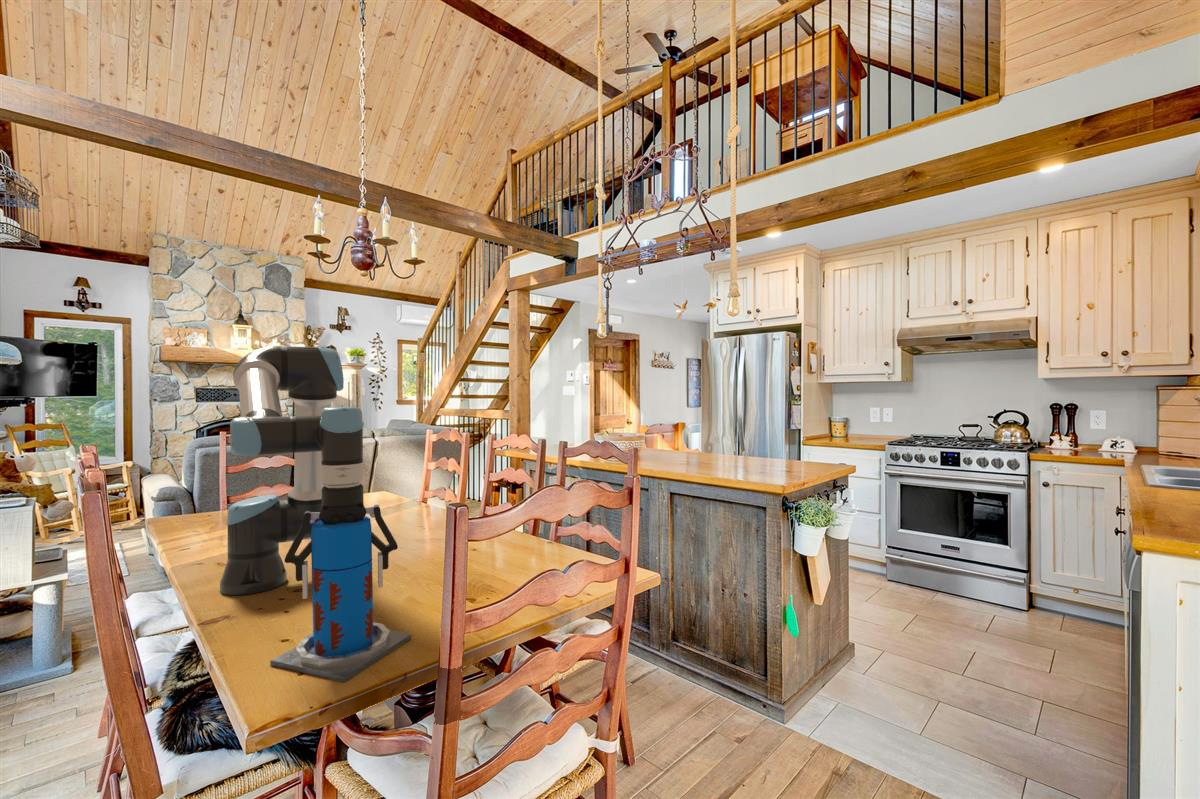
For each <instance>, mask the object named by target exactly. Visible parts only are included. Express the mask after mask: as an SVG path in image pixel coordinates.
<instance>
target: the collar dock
mask: <svg viewBox="0 0 1200 799" xmlns="http://www.w3.org/2000/svg"><path fill="white" fill-rule="evenodd" d="M412 637H413V636H412V633H408V632H403V631H398V630H391V629H389V628H388V627H386V625H385V624H383V623H380V622H379V623H378V622H374V621H373V639H372V644H371V645H370V646H369V647H367V648H366V649H363V650H359V651H356V652H353V653H349V654H346V655H338V656H327V657H322V656H317V655H316V654H315V648H314V636H313V632H312V633H311V634H308V635H306V636H304V637H303V638H302V639H301V641H300V642H299V643H298V644H297V646H295V647H293V648H291V649H289V650H287V651H286V652H283V653H282V654H280V655H277V656H276V657H273V658H272V659H270V661H269V662H270V664H269V665H270V666H271V667H275V668H279V669H285V670H289V671H293V672H298V673H302V674H306V675H311V676H315V677H318V678H319V677H320V678H323V679H328V680H333V681H337V682H342V683H346V682H347V681H349V680H351V679H352V678H353V677H355V676H357V675H358V674H360V673H361V672H363V671H364V670H366V669H367V668H369V667H371V666H372V665H373V664H375V663H377V662H379V661H380V660H381V659H383V658H384V657H386V656H387V655H389V654H390V653H392V652H393V651H395V650H397V649H398V648H399V646H400V645H401V646H403V645H404V644H406V643H407V642H409V641H410V640H412V639H411V638H412ZM409 639H410V640H409ZM408 640H409V641H408ZM406 641H407V642H406ZM405 642H406V643H405ZM403 643H404V644H403ZM402 644H403V645H402ZM401 646H400V647H401ZM397 647H398V648H397ZM396 648H397V649H396ZM388 653H389V654H388Z"/></svg>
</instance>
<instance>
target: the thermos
mask: <svg viewBox="0 0 1200 799" xmlns="http://www.w3.org/2000/svg"><path fill="white" fill-rule="evenodd" d="M371 532H373V531H372V520H371V517H369V516H367V515H365V516H364V518H363V519H362V520H361V521H359V522H353V523H350V522H345V523H337V524H336V525H327V524H324V523H323V522H322V521H321V520H320V521H317V522H315V523H313V525H312V530H311V539H310V541H311V542H312V552H311V553H310V554H311V589H312V592H311V593H312V594H311V596H312V633H313V636H314V648H315V654H316V655H317V656H322V657H327V656H338V655H346V654H349V653H353V652H356V651H359V650H363V649H366V648H367V647H369V646H370V645H371V644H372V639H373V622H374V594H373V593H374V592H373V591H374V589H373V582H374V581H373V548H372V547H373V544H372V543H371Z"/></svg>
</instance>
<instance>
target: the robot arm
mask: <svg viewBox="0 0 1200 799" xmlns="http://www.w3.org/2000/svg"><path fill="white" fill-rule="evenodd" d="M343 373H344V372H343V366H342V361H341V358H340V355H339V353H338V351H336V350H335V349H333V348H328V347H327V348H326V347H322V346H321V347H320V346H289V345H288V346H283V345H270V346H265V347H260V348H257V349H255V350H253V351H251V352H249V353H248V354H246V355H244V356H243V357H242V358H241V359H240V360H239V361H238V362H237V363H236V366H235V367H234V369H233V375H232V376H233V378H232V379H233V384H234V386H235V388H236V389H237V390H238V392H239V395H238V396H239V408H240V409H239V410H240V412H239V413H240V417H236V418H233V419H232V420H230V429H229V430H230V452H231V453H232V455H234V456H252V457H256V456H265V455H266V456H267V455H277V454H278V455H280V454H281V455H282V454H294V458H293V459H294V461H293V462H294V465H293V466H294V468H293V469H294V470H293V474H294V475H293V476H294V477H293V478H294V479H293V482H294V484H293V487H292V488H291V489H290V490H288V492H287V498H285V499H284V498H283V499H280V497H279V495H277V494H266V495H265V494H264V495H259V496H255V497H253V496H252V497H249V498H246V499H242V500H239V501H236V502H234V503H232V504H231V505H230V506H229V507H228V508H227V516H226V517H227V518H226V522H225V523H226V525H227V562H226V564H225V567H224V570H223V573H222V577H221V578H220V581H219V592H220V593H221V594H224V595H230V596H243V595H251V594H257V593H262V592H265V591H269V590H270V591H271V590H273V589H275V588H278V587H280V586H282V585H284V584H285V583H286V582H287V580H288V579H287V577H288V574H287V570H286V567H285V564H284V563H286V564H294V565H295V580H296V581H297V582H301V581H302V585H301V586H302V600H304V599H308V595H309V574H308V573H309V572H308V570H309V569H308V566H309V562H308V560H306V559H307V558H308V557H309V555H310V554H311V552H312V542H311V530H312V525H313V523H315V522H317V521H320V520H321V521H322V522H323V523H324V524H327V525H336V524H337V523H345V522H350V523H353V522H359V521H361V520H362V519H363V518H364V516H367V514H368V515H369V516H370V518H374V520H375V521H376V523H377V525H378V527H379V528H380V530H381V533H382V534H383V537H384V538H385V539H386V541H387V543H388V544H385V542H383V541H382V540H381V538H379V537H378V536H377V535H376V534H375V533H374V532H373V531H372V532H371V543H372V545H374V546H375V547H376V548H377V549H378V550H379V551H378V552H377V584H378V588H383V587H384V570H388V568H389V565H390V564H389V554H390V553H391V552H392V551H396V550H397V549H399V547H398V543H397V541H396V539H395V537H394V536H393V534H392V532H391V531H390V529H389V527H388V525H387V524H386V522H385V520H384V518H383V516H382V513H381V507H380V505H379V504H374V506H370V507H365V505H364V485H363V484H362V482H363V481H364V451H363V450H364V445H363V443H364V439H363V437H364V436H363V434H364V431H363V430H364V425H365V424H364V420H363V410H362V409H361V408H360V407H357V406H342V407H341V406H334V407H331V403H332V402H333V401H334V400H336V399H337V397H338V395H337V392H340V391H343V390H344V384H345V383H344V382H345V381H344V374H343ZM278 391H280V392H281V391H286V392H288V395H287V396H288V398H289V399H290V400H291V401H292V402H293V404H294V416H283V412H282V407H281V402H280V396H279V392H278ZM303 540H310V541H309V543H308V544H307V545H306V546H305V547H304V548H303V550H301V551H300V553H299V554H298V555H297V554H296V553H297V551H298V549H299V547H300V545H301V543H302V541H303ZM288 542H292V544H291V545H290V547H289V549H288V551H287V553H286V555H285V557H284V562H283V560H282V557H281V555H280V544H281V543H288Z"/></svg>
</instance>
